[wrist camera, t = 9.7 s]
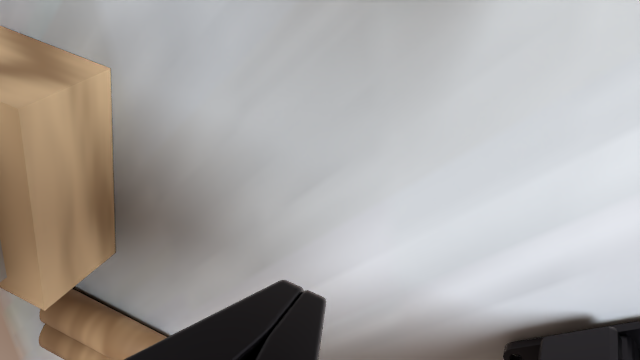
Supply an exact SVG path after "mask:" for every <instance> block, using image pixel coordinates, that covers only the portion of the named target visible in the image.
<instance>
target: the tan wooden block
mask: <svg viewBox="0 0 640 360" xmlns="http://www.w3.org/2000/svg"><path fill="white" fill-rule="evenodd" d="M0 240H1V246H2V252H3V258H4V263H5V269H6V275H7V278H5V279H4V280H2V281H1V282H0V287H1V288H3V289H4V290H6V291H8V292H10V293H12V294H14V295H16V296H18V297H20V298H21V299H23V300H25V301H27V302H29V303H31V304H33V305H35V306H36V307H38V308H40V309H42V310H44V311H45V310H46V309H48V308H49V307H50V306H51V305H52V304H54V303H55V302H56V301H57V300H59V299H60V298H61V297H62V296H63V295H65V294H66V293H67V292H68V291H69V290H71V289H72V288H73V287H74V286H76V285H77V284H78V283H79V282H80V281H82V280H83V279H84V278H85V277H87V276H88V275H89V274H90V273H91V272H93V271H94V270H95V269H96V268H97V267H99V266H100V265H101V264H102V263H104V262H105V261H106V260H107V259H108V258H110V257H111V256H112V255H113V254H115V253H116V252H115V216H114V180H113V145H112V109H111V73H110V68H108V67H105V66H103V65H100V64H98V63H95V62H92V61H90V60H87V59H85V58H82V57H79V56H77V55H74V54H72V53H69V52H67V51H64V50H61V49H59V48H56V47H54V46H51V45H48V44H46V43H43V42H41V41H38V40H36V39H33V38H30V37H28V36H25V35H23V34H20V33H17V32H15V31H12V30H10V29H7V28H5V27H2V26H0Z"/></svg>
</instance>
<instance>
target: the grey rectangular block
mask: <svg viewBox="0 0 640 360" xmlns="http://www.w3.org/2000/svg"><path fill="white" fill-rule="evenodd" d="M5 278H7V275H6V269H5V263H4V258H3V252H2V246H1V240H0V282H1V281H2V280H4V279H5Z"/></svg>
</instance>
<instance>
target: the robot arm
mask: <svg viewBox="0 0 640 360" xmlns="http://www.w3.org/2000/svg"><path fill="white" fill-rule="evenodd" d="M325 307H326V299H325V298H324V297H322V296H319V295H317V294H315V293H313V292H311V291H308V290H306V291H304V290H303V288H302V287H300V286H298V285H295V284H293V283H291V282H289V281H286V280H281V281H278V282H277V283H275V284H273V285H271V286H269V287H267V288H265V289H263V290H261V291H259V292H257V293H255V294H253V295H251V296H249V297H247V298H245V299H243V300H241V301H239V302H237V303H235V304H233V305H231V306H229V307H227V308H225V309H223V310H221V311H219V312H217V313H215V314H213V315H211V316H209V317H207V318H205V319H203V320H201V321H199V322H197V323H195V324H193V325H191V326H189V327H187V328H185V329H183V330H181V331H179V332H177V333H175V334H173V335H171V336H169V337H167V338H165V339H163V340H161V341H159V342H157V343H155V344H153V345H151V346H149V347H148V348H146V349H144V350H142V351H140V352H138V353H136V354H134V355H132V356H130V357H128V358H126V359H124V360H318V358H319V350H320V343H321V336H322V329H323V321H324V314H325ZM513 354H518V355H520V357H519V356H515V355H513ZM503 358H504V360H640V321H637V322H631V323H625V324H619V325H613V326H607V327H601V328H595V329H589V330H583V331H577V332H571V333H565V334H559V335H553V336H547V337H541V338H535V339H529V340H523V341H517V342H512V343H509V344H507V345H506V346H505V350H504V355H503Z"/></svg>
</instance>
